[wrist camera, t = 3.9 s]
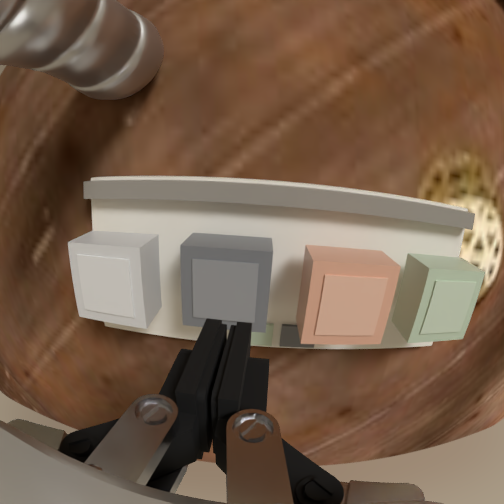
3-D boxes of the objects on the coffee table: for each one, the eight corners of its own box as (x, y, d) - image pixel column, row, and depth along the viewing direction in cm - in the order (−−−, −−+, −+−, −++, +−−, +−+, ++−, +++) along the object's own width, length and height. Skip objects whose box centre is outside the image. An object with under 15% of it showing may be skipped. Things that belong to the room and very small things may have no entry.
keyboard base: (460, 206, 18) (475, 211, 17) (426, 339, 22) (436, 351, 20) (98, 176, 19) (83, 178, 17) (110, 320, 23) (99, 332, 21)
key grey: (158, 234, 18) (139, 248, 15) (162, 306, 19) (146, 329, 16) (92, 230, 18) (66, 242, 15) (100, 297, 19) (78, 317, 16)
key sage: (461, 257, 17) (485, 272, 14) (443, 319, 19) (463, 339, 16) (407, 252, 17) (430, 269, 14) (391, 320, 19) (407, 343, 16)
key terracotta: (381, 250, 17) (401, 267, 14) (366, 320, 19) (380, 345, 16) (305, 244, 17) (313, 261, 14) (295, 318, 19) (300, 344, 16)
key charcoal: (271, 238, 18) (273, 252, 15) (265, 309, 20) (265, 333, 17) (193, 232, 18) (179, 245, 15) (193, 303, 20) (182, 325, 17)
